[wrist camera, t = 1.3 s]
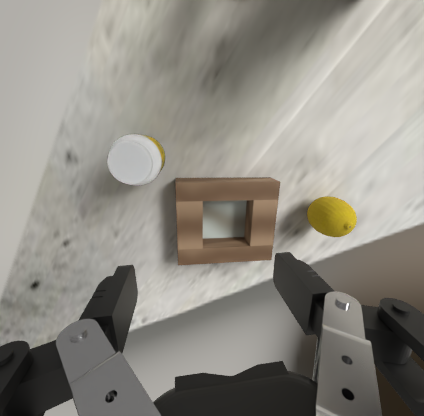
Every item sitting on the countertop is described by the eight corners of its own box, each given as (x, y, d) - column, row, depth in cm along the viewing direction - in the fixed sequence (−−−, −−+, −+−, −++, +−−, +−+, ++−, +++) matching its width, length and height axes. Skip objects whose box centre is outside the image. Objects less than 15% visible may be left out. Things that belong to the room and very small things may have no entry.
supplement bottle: (166, 176, 30) (159, 192, 21) (126, 175, 30) (101, 192, 20) (165, 136, 29) (157, 134, 20) (122, 134, 28) (93, 131, 19)
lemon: (297, 225, 36) (328, 249, 28) (298, 193, 34) (331, 209, 26) (328, 221, 36) (367, 243, 29) (331, 189, 34) (373, 203, 27)
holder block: (176, 178, 31) (175, 182, 27) (270, 177, 32) (280, 181, 29) (178, 253, 34) (178, 265, 31) (262, 248, 36) (271, 259, 33)
